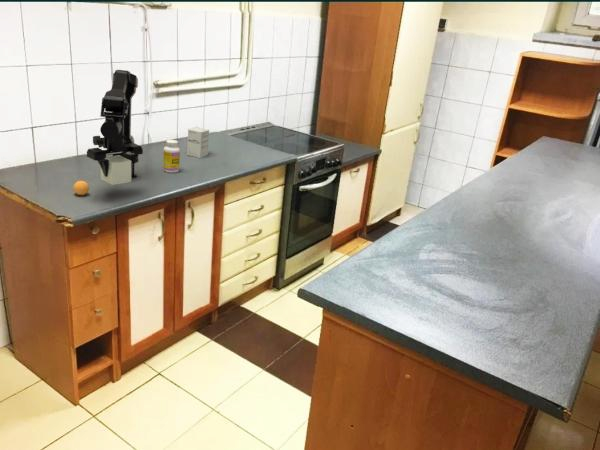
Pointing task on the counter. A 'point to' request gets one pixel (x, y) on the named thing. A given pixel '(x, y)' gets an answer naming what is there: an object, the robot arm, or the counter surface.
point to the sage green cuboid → (117, 170)
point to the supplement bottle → (171, 157)
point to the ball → (81, 187)
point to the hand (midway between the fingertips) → (116, 174)
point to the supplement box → (197, 142)
